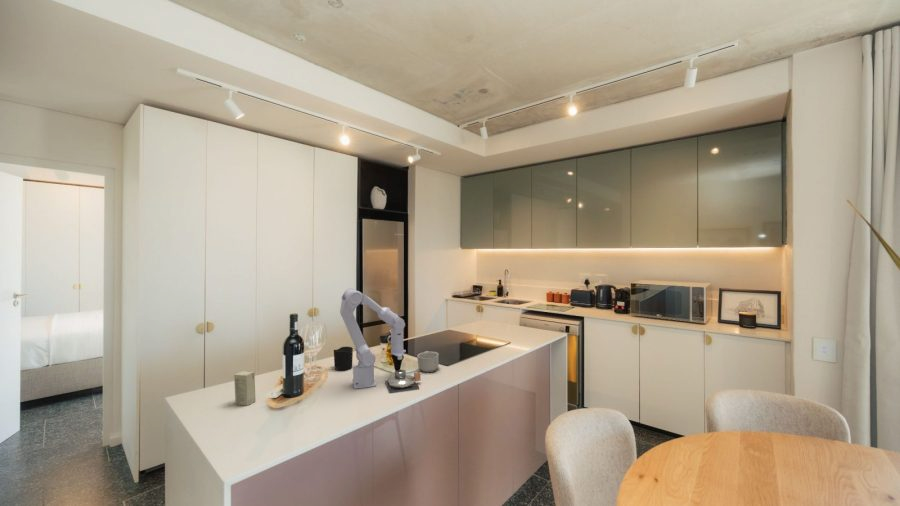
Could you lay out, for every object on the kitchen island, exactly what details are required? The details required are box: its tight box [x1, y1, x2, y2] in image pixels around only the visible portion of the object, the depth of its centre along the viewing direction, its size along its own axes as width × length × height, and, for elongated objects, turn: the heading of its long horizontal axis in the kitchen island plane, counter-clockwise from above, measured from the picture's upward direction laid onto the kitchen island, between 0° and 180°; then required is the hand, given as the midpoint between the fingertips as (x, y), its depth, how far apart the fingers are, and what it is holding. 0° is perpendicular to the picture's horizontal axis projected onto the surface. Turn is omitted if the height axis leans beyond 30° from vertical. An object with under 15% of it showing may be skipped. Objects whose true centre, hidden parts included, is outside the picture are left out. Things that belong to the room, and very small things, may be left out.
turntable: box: [387, 371, 422, 388], centre depth 160 cm, size 15×12×3 cm
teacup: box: [416, 350, 440, 373], centre depth 181 cm, size 14×11×8 cm
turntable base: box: [384, 379, 420, 394], centre depth 160 cm, size 13×13×1 cm
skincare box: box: [233, 370, 257, 406], centre depth 143 cm, size 6×4×12 cm
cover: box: [394, 369, 407, 379], centre depth 163 cm, size 5×5×3 cm
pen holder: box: [333, 346, 354, 372], centre depth 183 cm, size 9×9×10 cm
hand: (397, 370), depth 169 cm, fingers closed
